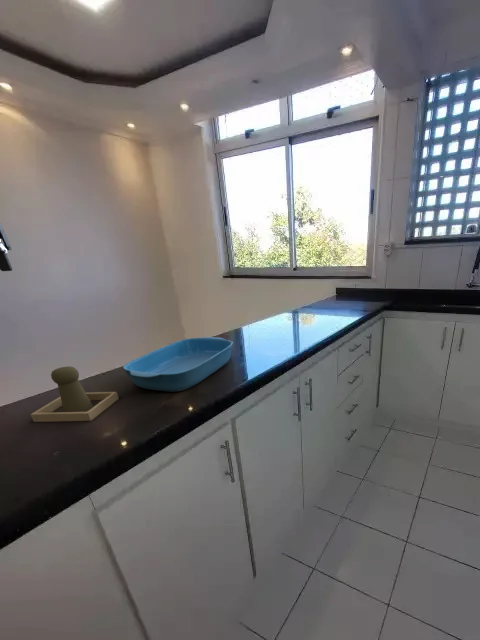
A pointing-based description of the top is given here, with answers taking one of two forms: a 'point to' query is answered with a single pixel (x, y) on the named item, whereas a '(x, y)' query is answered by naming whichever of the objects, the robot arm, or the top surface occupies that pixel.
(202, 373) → the casserole dish
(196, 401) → the top surface
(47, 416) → the wooden frame
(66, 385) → the olive knobbed cone
